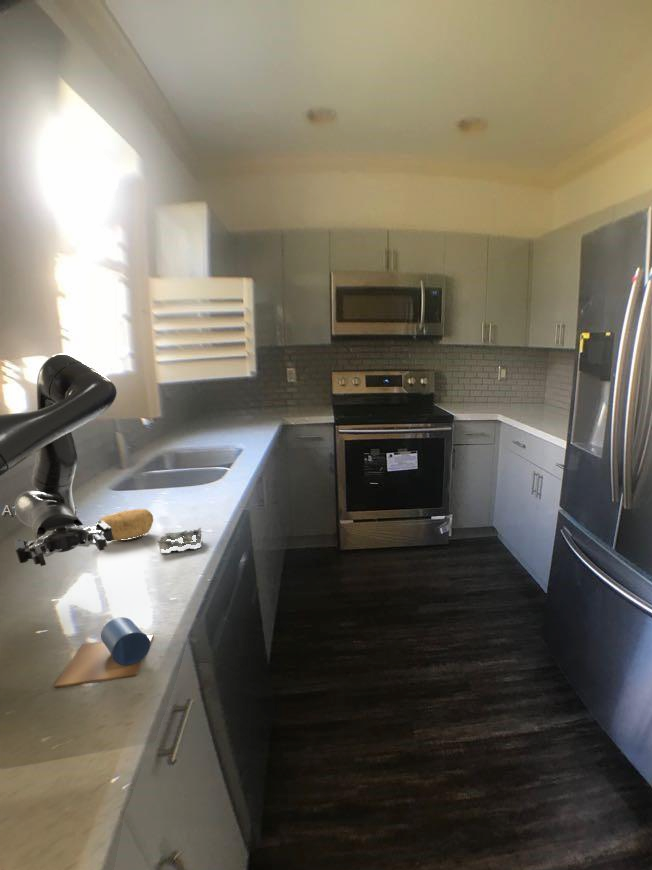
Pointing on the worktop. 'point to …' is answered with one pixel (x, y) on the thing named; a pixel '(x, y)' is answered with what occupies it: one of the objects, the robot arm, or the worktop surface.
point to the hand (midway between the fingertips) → (72, 552)
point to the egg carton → (186, 539)
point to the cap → (125, 641)
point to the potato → (129, 523)
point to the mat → (95, 666)
